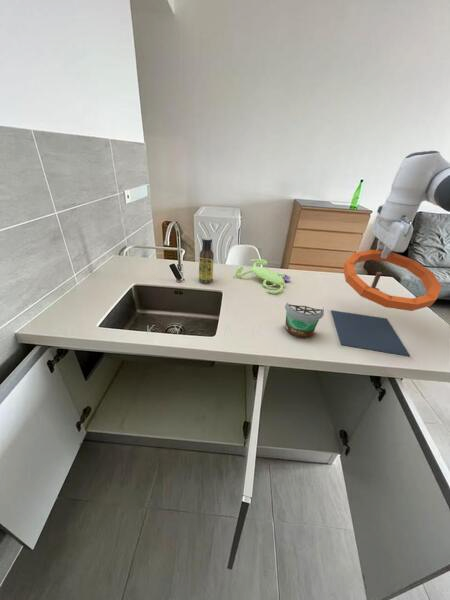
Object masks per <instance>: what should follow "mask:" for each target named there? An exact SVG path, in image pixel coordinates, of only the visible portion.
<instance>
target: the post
mask: <svg viewBox="0 0 450 600" xmlns="http://www.w3.org/2000/svg"><path fill="white" fill-rule="evenodd" d="M382 274H383V273H382V272H380V271H377V272H376V274H375V276H374V278H373V281H372V283H371V285H370V287H372V288H374V289H376V290H379V291H381V290H380V289H379V288H378V286H377V285H378V283H379V281H380V278H381V276H382Z"/></svg>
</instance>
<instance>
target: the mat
mask: <svg viewBox="0 0 450 600" xmlns="http://www.w3.org/2000/svg"><path fill="white" fill-rule="evenodd" d="M330 312H331V316H332V319H333V322H334V327H335V329H336V333H337V336H338V339H339V343H340V346H344V347H349V348H350V347H351V348H357V349H361V350H367V351H375V352H380V353H386V354H393V355H398V356H403V357H411V355H410V353H409V351H408V349H406V346H405V345H404V343H403V342H402V340H401V339H400V337H399V335H398V334H397V332H396V330H395V329H394V327H393V325H392V324H391V323H390V321H389V320H388V318H386V317H380V316H373V315H365V314H359V313H352V312H345V311H338V310H333V309H332V310H331V309H330Z"/></svg>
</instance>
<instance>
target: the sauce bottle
mask: <svg viewBox="0 0 450 600" xmlns="http://www.w3.org/2000/svg"><path fill="white" fill-rule="evenodd" d="M201 240H202V241H201V242H202V247H201V250H200V252H199V258H198V281H199V282H200V283H202V284H210V283H212V282H213V277H214V276H213V275H214V259H215V258H214V252H213V250H212V243H213V238H212V237H210V236H203V237H202V239H201Z"/></svg>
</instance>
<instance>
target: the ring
mask: <svg viewBox="0 0 450 600" xmlns="http://www.w3.org/2000/svg"><path fill="white" fill-rule="evenodd" d="M381 252H382V251H379V250H377V249H367V250H361V251H357V252H354V253H352V254H351V255H350V256H349V257H348V259H347V260H346V261H344V264H343V267H342V270H343V276H344V280H345V282H346V283H347V284H348V285H349V286H350V287H351V288H352V289H353V290H354V291H355V292H356V293H357V294H358V295H359V296H360V297H363V298H365V299H367V300H369V301H371V302H373V303H375V304H377V305H380V306H382V307H384V308H388V309H395V310H403V311H409V312H413V311H417V310H422V309H424V308H428V307H431V306H432V305H433V304H434V303H435V302H436V301H437V299H438V297H439V295H440V292H441V290H442V285H441V283H440V282H439V280H438V279H437V277H436V276H435V274H434V272H433V271H431V270H430V269H429V268H427V267H425V266H424V265H422V264H421V263H420V262H418V261H417V260H415V259H413V258H410V257H407V256H404V255H401V254H399V253H397V252H394V251H391V252H390V253H389V254H388V256H387V258H386V259H384V258H381V257H380V253H381ZM366 261H378V262H386V263H390V264H392V265H395V266H398V267H400V268H404V269H406V270H407V271H408V272H410V273H411V274H413V275H414V276H415V277H416V278H418V279H420V281H421V283H422V285H423V287H424V288H425V291H426V292H425V294H424V295H421V296H417V297H413V298H410V297H403V296H398V295H397V296H395V295H390V294H388V293H386V292H383V291H381V290H380V289H379V290H380V291H379V290H376V289H374V288H372V287H371V285H368V284H367V283H366V282H365V281H364V280H363V279H362V278H360V276H359V275H357V272H356V269H355V266H356V265H357V263H362V262H366Z"/></svg>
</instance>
